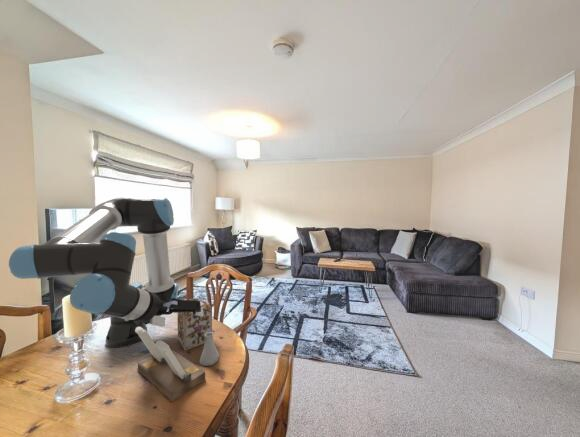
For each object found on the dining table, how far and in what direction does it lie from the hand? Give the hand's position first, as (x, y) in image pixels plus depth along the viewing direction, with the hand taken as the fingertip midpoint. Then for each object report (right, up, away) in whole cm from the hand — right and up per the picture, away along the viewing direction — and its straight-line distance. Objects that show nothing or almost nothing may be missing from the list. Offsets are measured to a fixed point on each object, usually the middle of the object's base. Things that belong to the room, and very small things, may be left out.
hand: (183, 317), depth 77 cm
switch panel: (-5, -20, +1) cm, 20 cm away
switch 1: (-11, -17, +5) cm, 21 cm away
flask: (+6, -20, +8) cm, 22 cm away
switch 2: (+1, -17, -4) cm, 18 cm away
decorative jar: (-5, -20, +22) cm, 30 cm away
